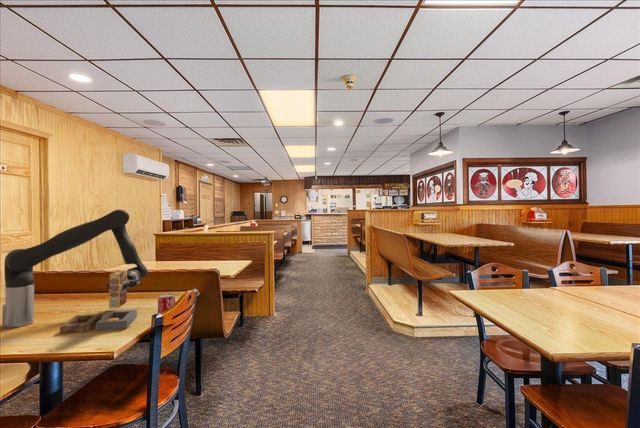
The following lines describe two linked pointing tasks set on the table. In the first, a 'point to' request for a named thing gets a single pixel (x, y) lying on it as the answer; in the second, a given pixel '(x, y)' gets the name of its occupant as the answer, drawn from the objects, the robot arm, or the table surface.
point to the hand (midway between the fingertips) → (117, 287)
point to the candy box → (117, 289)
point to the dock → (116, 320)
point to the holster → (75, 327)
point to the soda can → (165, 302)
